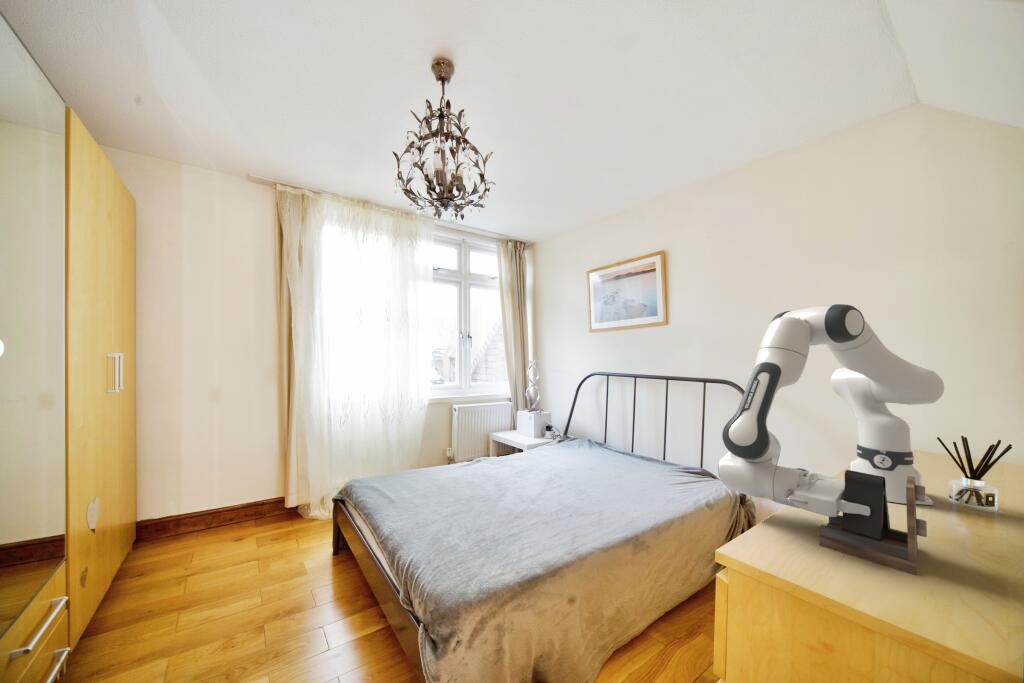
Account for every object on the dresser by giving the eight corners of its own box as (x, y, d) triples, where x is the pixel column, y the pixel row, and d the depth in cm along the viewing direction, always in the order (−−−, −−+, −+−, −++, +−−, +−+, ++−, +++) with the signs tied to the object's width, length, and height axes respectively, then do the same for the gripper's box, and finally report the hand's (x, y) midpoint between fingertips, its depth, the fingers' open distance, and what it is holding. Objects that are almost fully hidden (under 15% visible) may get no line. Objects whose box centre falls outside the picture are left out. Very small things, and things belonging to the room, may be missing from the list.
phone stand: (880, 541, 73) (878, 481, 73) (841, 529, 78) (839, 473, 78) (890, 530, 78) (889, 474, 79) (853, 520, 83) (852, 466, 83)
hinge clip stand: (831, 525, 88) (829, 460, 89) (927, 551, 76) (924, 476, 77) (819, 545, 78) (817, 472, 79) (927, 578, 66) (924, 492, 67)
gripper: (780, 483, 81) (866, 502, 71) (801, 466, 95) (876, 480, 84) (781, 511, 81) (867, 535, 70) (802, 491, 94) (877, 508, 84)
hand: (872, 505), depth 77 cm, fingers open, 8 cm apart
